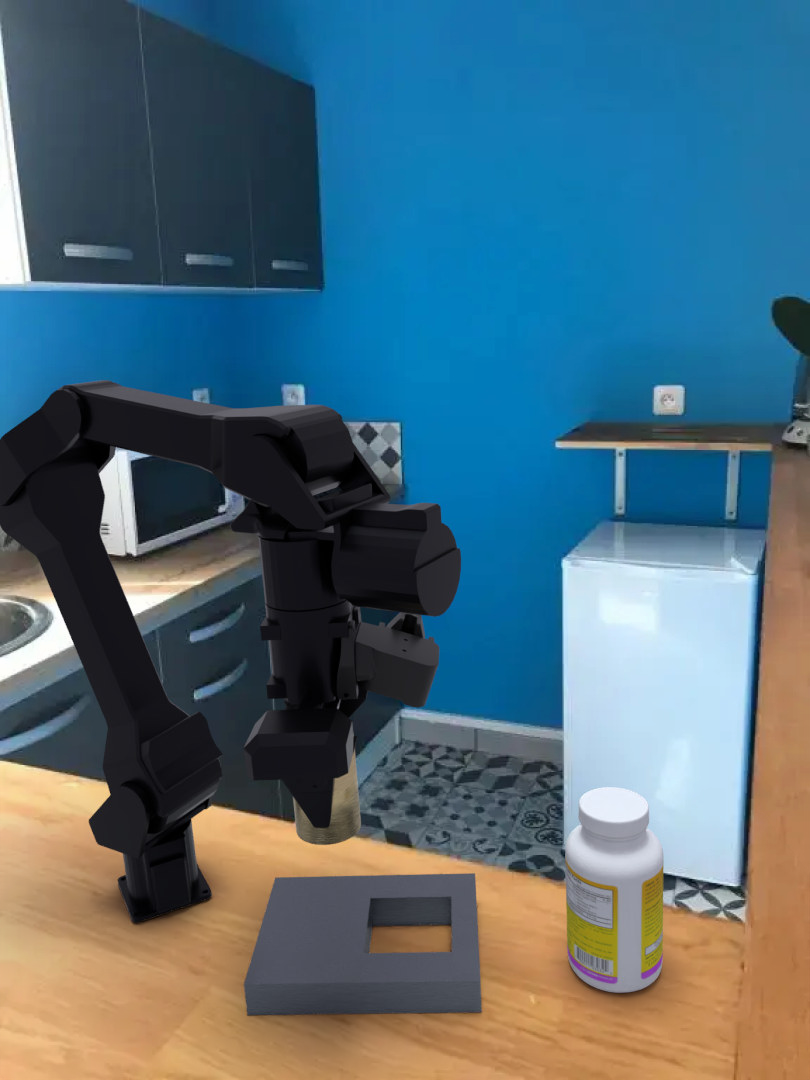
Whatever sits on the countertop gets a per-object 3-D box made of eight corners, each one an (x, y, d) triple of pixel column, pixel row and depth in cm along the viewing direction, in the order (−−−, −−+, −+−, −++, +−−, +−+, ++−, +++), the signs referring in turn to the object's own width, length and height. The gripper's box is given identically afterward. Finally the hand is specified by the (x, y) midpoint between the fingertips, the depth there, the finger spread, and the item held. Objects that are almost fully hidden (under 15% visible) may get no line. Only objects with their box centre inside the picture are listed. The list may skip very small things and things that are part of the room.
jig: (247, 1015, 64) (243, 984, 63) (277, 904, 75) (275, 877, 75) (481, 1012, 63) (480, 980, 62) (476, 900, 75) (475, 873, 74)
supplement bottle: (647, 930, 70) (649, 776, 67) (674, 994, 64) (678, 826, 60) (558, 936, 70) (556, 782, 67) (577, 1001, 64) (576, 833, 60)
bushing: (287, 821, 68) (278, 732, 66) (345, 803, 69) (338, 716, 68) (310, 852, 64) (301, 757, 62) (371, 832, 65) (364, 740, 64)
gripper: (423, 643, 53) (438, 885, 57) (432, 555, 71) (442, 743, 75) (229, 650, 53) (256, 889, 57) (287, 562, 72) (304, 748, 75)
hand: (327, 807), depth 66 cm, fingers closed on bushing, 5 cm apart
